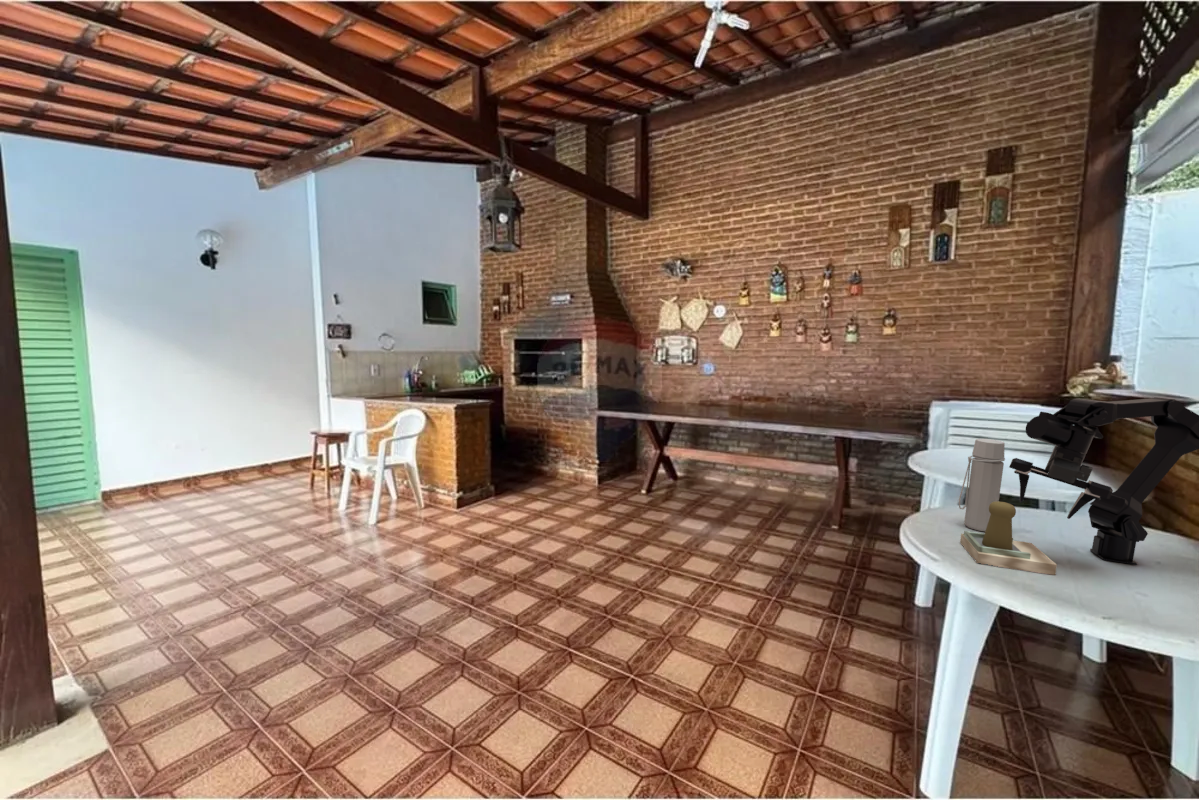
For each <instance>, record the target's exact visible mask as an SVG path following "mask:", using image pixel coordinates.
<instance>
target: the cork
mask: <svg viewBox="0 0 1199 800" xmlns="http://www.w3.org/2000/svg"><path fill="white" fill-rule="evenodd" d="M989 512H990V514H991V515H990V518H989V522H988V525H987V528H986V531H985V532H984V537H983V540H982V544H983V545H984V546H986V547H991V548H998V549H1005V550H1012V538H1013V518H1014V517H1016V513H1017V510H1016V507H1015V506H1014V505H1013V504H1011V503H1010V502H1009V503H1008V502H1005V501H995V502H992V503H991V504H990V505H989Z"/></svg>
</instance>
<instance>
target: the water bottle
mask: <svg viewBox="0 0 1199 800" xmlns="http://www.w3.org/2000/svg"><path fill="white" fill-rule="evenodd" d="M967 459H968V463H967V468H966V471H965V476H964V479H963V481H962V482H963V483H962V487H961V490H960V494H959V497H958V509H959V510H965V513H964V514H965V515H964V521H963V522H964V525H965V526H966V527H967V528H969V529H972V530H974V531H978V532H982V533H983V532H984V533H985V531H986V528H987V525H988V522H989V518H990V515H991V514H990V512H989V505H990V504H991V503H992V502H995V501H999V500H1000V494H1001V487H1002V479H1003V471H1004V467H1005V466H1004V465H1005V464H1004V462H1005V460H1006V458H1005V442H1004V441H1002V440H997V439H993V438H991V439H990V438H975V441H974V445H973V448H972V455H969V456H967ZM966 479H967V482H966ZM965 484H966V489H965V490H966V492H965V501H964V506H962V507H961V498H962V495H963V492H964V488H965V487H964V486H965ZM999 502H1000V501H999Z"/></svg>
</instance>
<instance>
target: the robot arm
mask: <svg viewBox="0 0 1199 800" xmlns="http://www.w3.org/2000/svg"><path fill="white" fill-rule="evenodd" d="M1147 417H1148V418H1149V417H1150V419H1151V423H1152V424H1154V426H1155V427H1156V429H1155V431H1154V433H1153V434H1154V445H1153V447H1151V448H1150V450H1149V451H1148V452H1147V454H1146V455H1145V456H1144V457H1143V458H1142V459H1141V460H1140V462H1139V463H1138V464H1137V466H1136V467H1135V468H1134V469H1133V470H1132V471H1131V472H1130V474H1129V475H1128V476H1127V477H1126V479H1125V480H1124V481H1123V482H1122V483H1121V485H1120V486H1119V487H1118V488H1117V489H1116V490H1113V488H1112V487H1111V486H1109V485H1107V484H1106V485H1105V484H1102V483H1099V482H1097V481H1093V480H1089V478H1090V476H1091V473H1092V471H1093V467H1092V466H1089V465H1086V464H1083V461H1084V460H1085V457H1086V454H1087V453H1088V450H1089V448H1090V446H1091V444H1092V441H1093V439H1094V438H1095V439H1099V440H1100V439H1101V440H1102V439H1103V438H1104V435H1103V434H1102V432H1100V430H1099V427H1101V426H1104V425H1108V424H1113V423H1114V422H1115V421H1116V420H1121V419H1132V418H1133V419H1136V418H1147ZM1025 434H1026V435H1027V437H1029V438H1031V439H1033V440H1035V441H1039V442H1043V443H1045V444H1049V445H1052V446H1054V447H1053V449H1052V452H1051V454H1050V456H1049V458H1048V461H1047V462H1046V463H1047V464H1046V466H1045V468H1042V467H1039V466H1037V465H1036V466H1035V465H1033V464H1034V463H1033V462H1031V461H1027V460H1024V459H1021V458H1018V457H1015V458H1012V460H1011V461H1010V464H1009V467H1008V468H1010V469H1012V470H1014V471H1013V473H1014V474H1016V475H1018V479H1019V503H1023V501H1024V499H1025V496H1026V491H1027V488H1028V483H1029V480H1030V479H1029V478H1030V474H1031V473H1033V474H1035V475H1039V476H1042V477H1045V478H1048V479H1051V480H1055V481H1057V482H1060V483H1064V484H1067V485H1070V486H1074V487H1077V488H1079V489H1083V490H1084V492H1083V491H1081V492H1080V494H1079V495H1078V497H1077V499H1076V500H1075V502H1074V503H1073V506H1071V508H1070V510H1069V511H1068V514H1067V517H1066V518H1067V519H1071V518H1072V517H1073V516H1074V515H1075V514H1076V513H1078V512H1079V511H1080V509H1082V508H1083V507H1084V506H1086V505H1087V504H1088V503H1089V502H1090V503H1089V505H1090V506H1089V508H1088V510H1087V512H1088V517H1089V521H1090V525H1091V528H1093V529H1096V530H1097V531H1096V535H1093V540H1092V545H1091V546H1092V547H1091V548H1090V549H1089V551H1090V552H1092V553H1093V554H1094V555H1096V556H1098V558H1100V559H1102V560H1103V561H1106V562H1107V561H1109V562H1115V563H1121V564H1130V565H1138V562H1137V561H1135V560H1134V556H1135V551H1136V546H1137V543H1140V542H1144V541H1145V540H1146V538H1147V536H1148V535H1149V533H1148V531H1147V530H1146V529H1145V527H1143V524H1141V523H1140V520H1141V518H1142V517H1143V508H1142V507H1143V506H1142V504H1143V502H1145V500H1146V499H1147V498H1148V496H1149V495H1151V493H1152V492H1153V491H1154V489H1155V488H1156V487H1157V486H1158V484H1159V483H1160V482H1161V481H1162V480H1163V479H1164V477H1165V476H1167V474H1168V472H1169V471H1170V470H1171V469H1172V468H1173V467H1174V465H1176V463H1177V462H1178V461H1179V460H1180V459H1181V458H1182V456H1184V455H1187V454H1189V453H1192V452H1195V451H1198V450H1199V414H1198V413H1196V412H1194V411H1192V410H1191V409H1189V408H1187V407H1186V406H1184V404H1182V403H1181V402H1180V401H1179V400H1177V399H1173V398H1165V397H1157V396H1155V397H1150V398H1140V399H1129V400H1126V399H1125V400H1114V401H1104V400H1103V401H1101V400H1095V399H1088V398H1087V399H1085V398H1072V399H1070V400H1069V402H1068V403H1067V404H1066V405H1065V406H1064V407H1062V408H1060V409H1058V410H1057V411H1056V412H1054V413H1050V412H1047V411H1046V412H1045V411H1040V412H1039V414H1038V415H1037V416H1035V417H1033V418H1031V419H1030V420H1029V421H1028V422H1027V423H1026V426H1025Z"/></svg>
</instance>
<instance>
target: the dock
mask: <svg viewBox="0 0 1199 800" xmlns="http://www.w3.org/2000/svg"><path fill="white" fill-rule="evenodd" d="M984 534H985V532H984V533H983V532H975V531H967V530H964V532H963V533H961V534H960V540H959V544H961V545H963V546H964V547H963V546H962V547H963V548H964V549H965V550H966V552H967V551H968V552H969V553H968V555H970V557H973V558H974V559H975V560H976V561H975V560H974V559H973V558H972V559H973V560H974V561H975V563H976V564H977V563H981V564H980V565H984V564H988V565H987V566H991V565H993V566H992V567H997V566H998V567H999V568H1005V569H1011V570H1018V571H1024V572H1025V571H1026V572H1032V573H1037V574H1038V573H1039V574H1044V575H1045V574H1046V575H1050V576H1056V573H1057V568H1058V567H1057V566H1058V564H1057V563H1056V562H1055V561H1053V560H1052V559H1050V558H1049V556H1047V555H1046V554H1045V553H1044V552H1043V551H1042V550H1040V549H1039V548H1038V547H1037V546H1036V545H1034V543H1032V542H1027V541H1019V540H1014V537H1012V550H1005V549H998V548H991V547H986V546H984V545H983V544H982V540H983V537H984Z"/></svg>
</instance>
